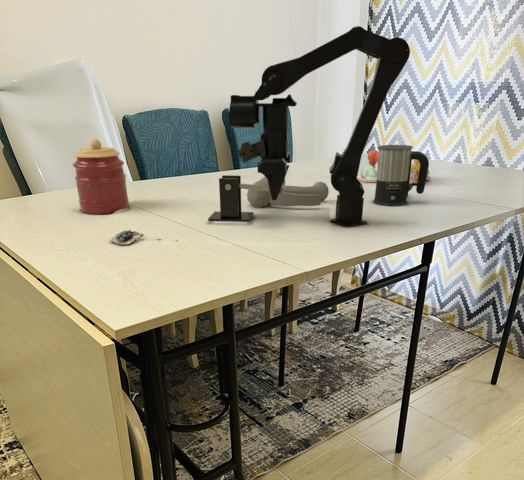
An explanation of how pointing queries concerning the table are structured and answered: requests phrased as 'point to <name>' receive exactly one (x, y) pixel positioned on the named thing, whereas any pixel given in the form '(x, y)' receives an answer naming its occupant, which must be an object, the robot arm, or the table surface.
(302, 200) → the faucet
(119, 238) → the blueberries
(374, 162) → the candy landscape model
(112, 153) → the kitchen canister
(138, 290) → the table surface
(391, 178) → the milk frother
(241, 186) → the tap lever
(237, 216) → the bracket
